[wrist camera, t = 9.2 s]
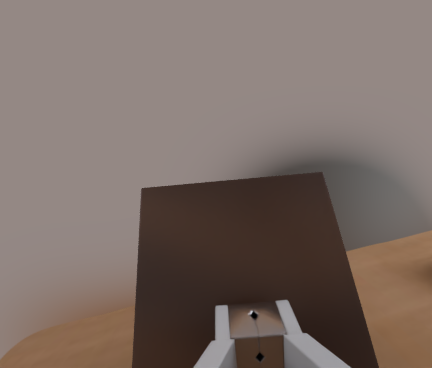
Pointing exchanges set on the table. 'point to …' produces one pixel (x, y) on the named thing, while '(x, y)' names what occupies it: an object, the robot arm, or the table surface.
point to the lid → (242, 266)
